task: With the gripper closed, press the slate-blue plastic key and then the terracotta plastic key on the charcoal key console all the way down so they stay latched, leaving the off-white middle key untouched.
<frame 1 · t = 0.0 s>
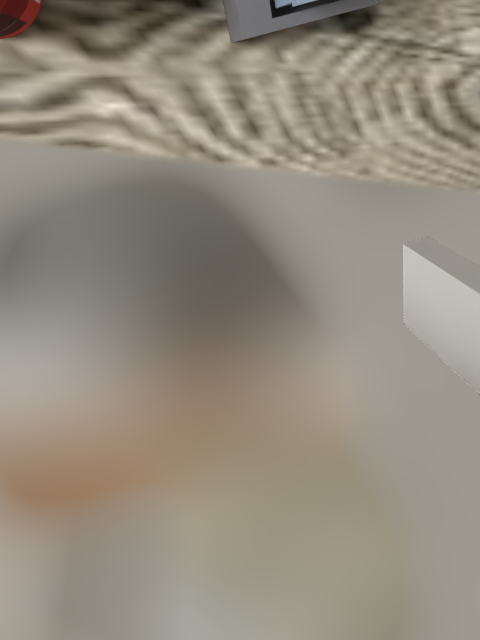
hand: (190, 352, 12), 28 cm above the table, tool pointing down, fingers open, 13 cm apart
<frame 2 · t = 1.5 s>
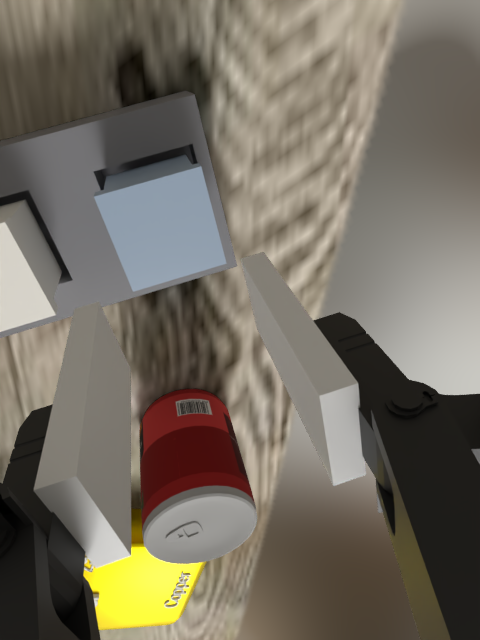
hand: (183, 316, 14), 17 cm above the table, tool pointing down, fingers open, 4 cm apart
key console: (19, 228, 27), on the table
slate blue key: (161, 217, 23), point 6 cm above the table, slide at 0.0 cm
canned food: (184, 417, 38), on the table
element tile: (125, 548, 47), on the table
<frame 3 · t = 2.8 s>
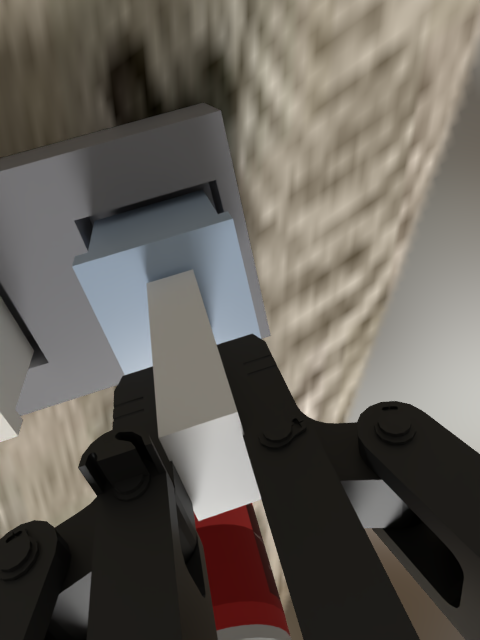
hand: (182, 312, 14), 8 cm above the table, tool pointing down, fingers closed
slate blue key: (171, 279, 16), point 5 cm above the table, slide at 0.6 cm, touching gripper
canned food: (194, 496, 31), on the table
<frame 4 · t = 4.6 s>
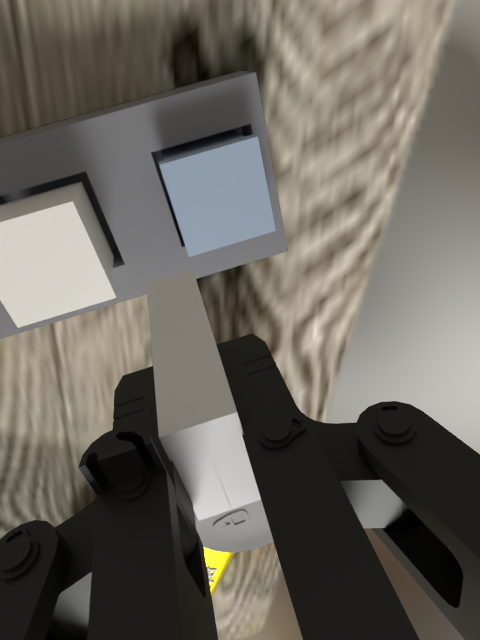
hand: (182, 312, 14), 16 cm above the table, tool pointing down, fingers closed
key console: (67, 213, 27), on the table
slate blue key: (213, 188, 24), point 4 cm above the table, slide at 2.2 cm
canned food: (221, 407, 38), on the table
element tile: (149, 542, 47), on the table
white key: (52, 248, 22), point 6 cm above the table, slide at 0.0 cm
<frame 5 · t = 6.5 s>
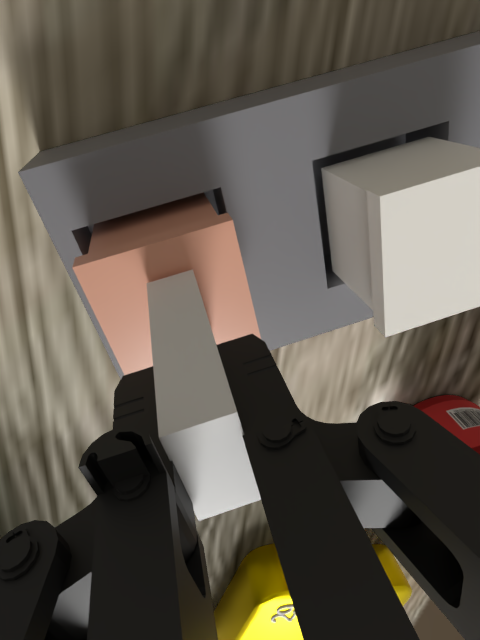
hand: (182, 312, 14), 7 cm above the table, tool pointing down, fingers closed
key console: (342, 187, 21), on the table
canned food: (425, 429, 32), on the table
element tile: (294, 587, 40), on the table
terracotta key: (171, 280, 16), point 4 cm above the table, slide at 1.6 cm, touching gripper
white key: (411, 226, 16), point 6 cm above the table, slide at 0.0 cm
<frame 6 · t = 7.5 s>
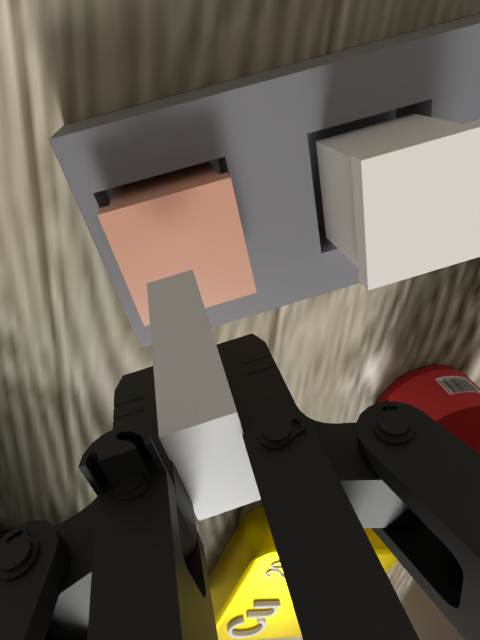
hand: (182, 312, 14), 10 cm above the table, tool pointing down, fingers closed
key console: (337, 163, 22), on the table
canned food: (417, 398, 34), on the table
element tile: (288, 551, 43), on the table
terracotta key: (179, 235, 19), point 4 cm above the table, slide at 2.3 cm
white key: (395, 193, 17), point 6 cm above the table, slide at 0.0 cm
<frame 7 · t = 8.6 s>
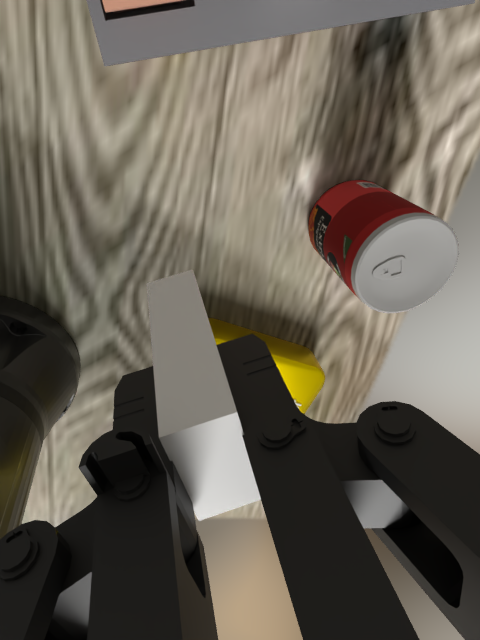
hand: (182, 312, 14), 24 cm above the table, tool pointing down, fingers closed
canned food: (345, 219, 40), on the table
element tile: (231, 383, 48), on the table
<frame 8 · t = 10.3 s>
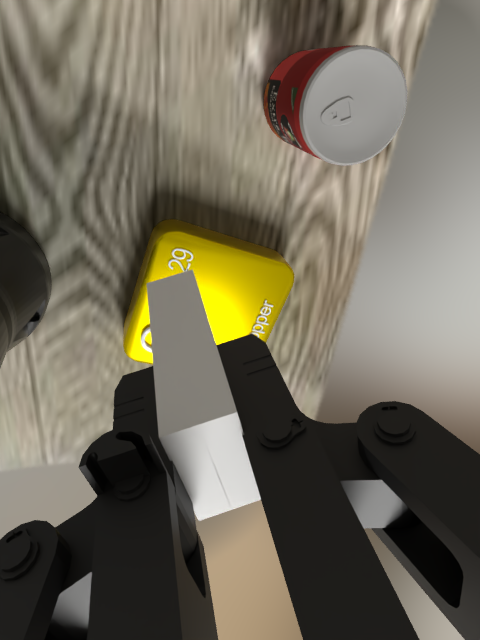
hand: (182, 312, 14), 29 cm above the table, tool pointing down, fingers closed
canned food: (302, 99, 39), on the table
element tile: (203, 295, 48), on the table
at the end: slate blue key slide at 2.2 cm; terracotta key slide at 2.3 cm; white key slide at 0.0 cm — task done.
